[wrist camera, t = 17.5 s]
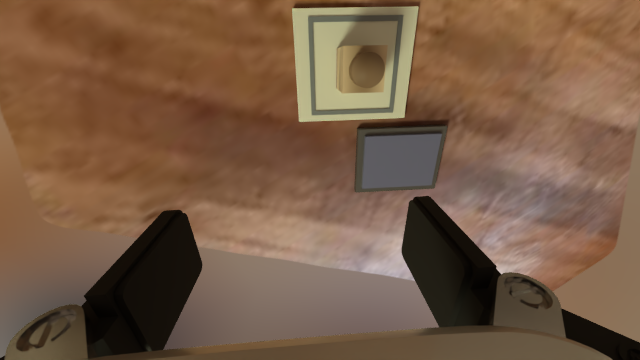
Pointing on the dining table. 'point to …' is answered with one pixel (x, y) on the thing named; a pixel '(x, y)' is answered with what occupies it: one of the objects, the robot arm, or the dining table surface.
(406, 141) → the grey flat block
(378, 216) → the dining table surface
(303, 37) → the board
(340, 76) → the stamp
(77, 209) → the dining table surface
